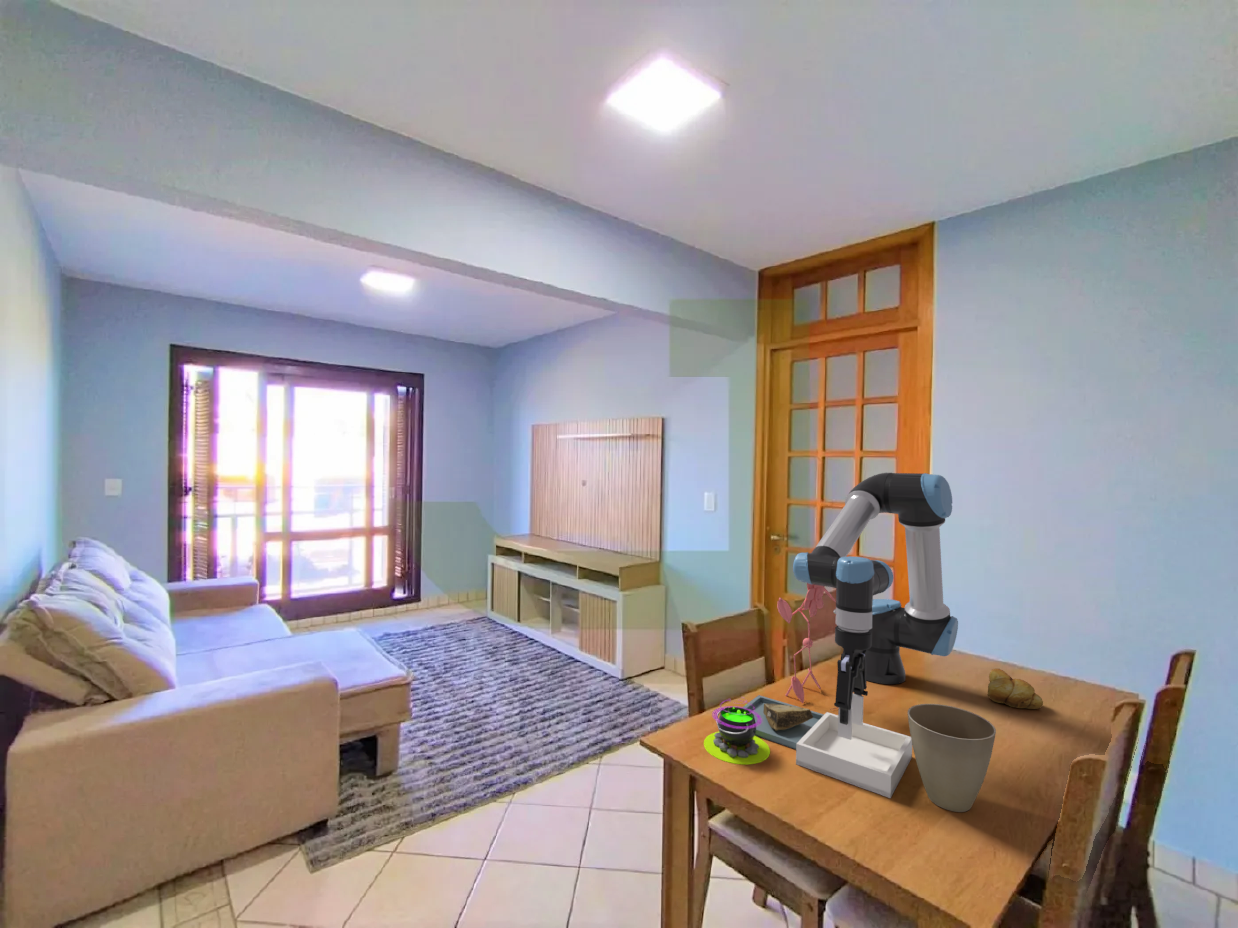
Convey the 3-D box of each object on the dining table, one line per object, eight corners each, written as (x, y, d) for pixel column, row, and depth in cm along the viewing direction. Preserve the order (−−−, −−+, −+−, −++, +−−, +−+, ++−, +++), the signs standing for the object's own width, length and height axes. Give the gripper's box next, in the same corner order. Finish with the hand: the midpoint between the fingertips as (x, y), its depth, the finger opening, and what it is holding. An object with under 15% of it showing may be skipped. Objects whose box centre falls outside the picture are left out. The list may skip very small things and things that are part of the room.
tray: (758, 700, 154) (758, 694, 154) (828, 721, 142) (828, 715, 142) (726, 725, 139) (726, 719, 139) (801, 751, 127) (801, 744, 127)
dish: (826, 730, 138) (826, 711, 138) (911, 756, 126) (912, 737, 126) (795, 763, 122) (796, 743, 122) (890, 798, 110) (891, 775, 110)
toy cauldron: (692, 737, 133) (693, 690, 133) (746, 727, 139) (747, 683, 139) (725, 770, 119) (726, 718, 119) (783, 758, 125) (785, 709, 124)
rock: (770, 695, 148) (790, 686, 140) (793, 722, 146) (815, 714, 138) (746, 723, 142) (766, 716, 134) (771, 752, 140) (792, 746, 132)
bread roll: (1046, 707, 154) (1047, 678, 153) (1037, 717, 147) (1038, 687, 147) (991, 692, 163) (992, 664, 163) (981, 701, 157) (981, 672, 157)
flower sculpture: (767, 703, 152) (770, 575, 152) (811, 678, 170) (813, 563, 170) (822, 723, 141) (825, 585, 141) (862, 694, 160) (865, 571, 159)
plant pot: (915, 770, 120) (917, 696, 120) (998, 798, 111) (1000, 718, 111) (896, 802, 109) (898, 721, 109) (987, 837, 99) (990, 747, 99)
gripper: (849, 615, 135) (847, 709, 135) (820, 634, 119) (817, 742, 119) (883, 621, 130) (880, 719, 130) (857, 642, 114) (854, 754, 114)
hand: (850, 729), depth 124 cm, fingers open, 8 cm apart
